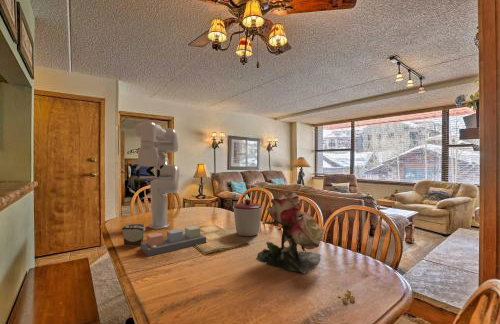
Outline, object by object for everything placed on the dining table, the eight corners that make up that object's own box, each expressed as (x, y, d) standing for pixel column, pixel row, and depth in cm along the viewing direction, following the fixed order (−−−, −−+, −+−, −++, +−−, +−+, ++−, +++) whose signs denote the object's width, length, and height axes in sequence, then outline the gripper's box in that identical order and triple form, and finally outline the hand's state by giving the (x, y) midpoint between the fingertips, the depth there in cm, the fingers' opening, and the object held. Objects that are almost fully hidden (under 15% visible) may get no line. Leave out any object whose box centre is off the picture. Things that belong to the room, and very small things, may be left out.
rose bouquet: (316, 278, 91) (317, 199, 91) (251, 261, 107) (251, 193, 106) (333, 256, 113) (333, 192, 112) (276, 244, 128) (277, 187, 128)
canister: (227, 236, 140) (227, 200, 140) (240, 228, 157) (240, 196, 157) (256, 240, 133) (256, 202, 133) (266, 231, 150) (266, 197, 150)
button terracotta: (146, 244, 119) (146, 234, 119) (159, 242, 123) (159, 232, 123) (150, 248, 114) (150, 237, 114) (163, 245, 118) (163, 235, 118)
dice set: (349, 295, 81) (349, 289, 81) (358, 304, 76) (358, 298, 76) (335, 296, 80) (335, 290, 80) (343, 305, 75) (343, 299, 75)
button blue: (166, 240, 125) (166, 230, 125) (177, 238, 129) (178, 228, 129) (171, 243, 121) (171, 233, 121) (182, 241, 124) (182, 231, 124)
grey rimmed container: (150, 242, 129) (150, 223, 129) (143, 246, 123) (143, 227, 123) (128, 241, 131) (128, 223, 131) (121, 245, 125) (121, 226, 124)
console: (140, 248, 120) (140, 241, 120) (195, 236, 139) (195, 230, 139) (148, 256, 111) (148, 248, 111) (206, 242, 130) (206, 235, 130)
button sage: (185, 236, 132) (185, 227, 132) (195, 234, 135) (195, 225, 135) (189, 239, 127) (189, 230, 127) (200, 237, 131) (200, 228, 131)
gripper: (165, 146, 135) (165, 176, 135) (132, 145, 130) (132, 177, 130) (165, 145, 128) (164, 177, 128) (129, 144, 123) (129, 178, 123)
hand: (148, 177), depth 129 cm, fingers open, 9 cm apart
